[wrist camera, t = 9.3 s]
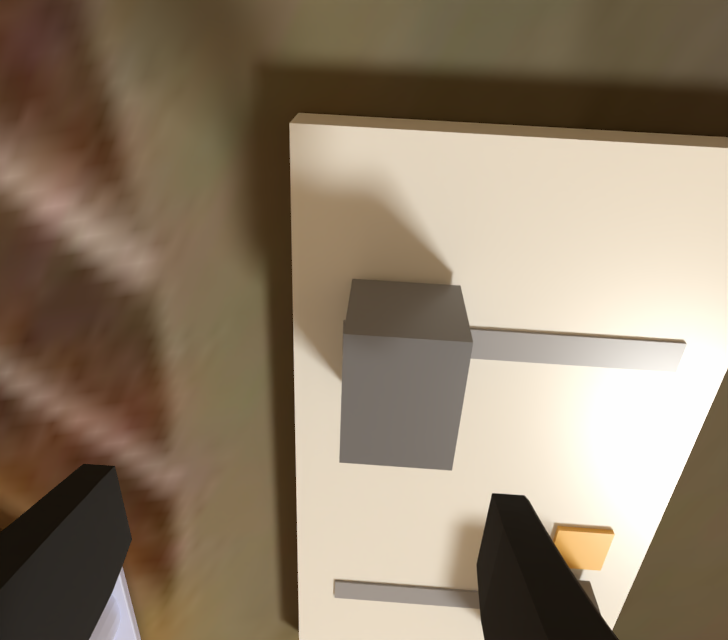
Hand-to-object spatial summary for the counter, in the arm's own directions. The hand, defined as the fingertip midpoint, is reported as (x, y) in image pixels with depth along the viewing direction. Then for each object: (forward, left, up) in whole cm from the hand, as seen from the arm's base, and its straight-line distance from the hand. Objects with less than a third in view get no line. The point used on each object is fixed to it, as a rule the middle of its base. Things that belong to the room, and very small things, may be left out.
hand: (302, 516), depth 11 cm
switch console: (+5, -6, -8) cm, 12 cm away
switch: (+2, 0, -7) cm, 7 cm away
